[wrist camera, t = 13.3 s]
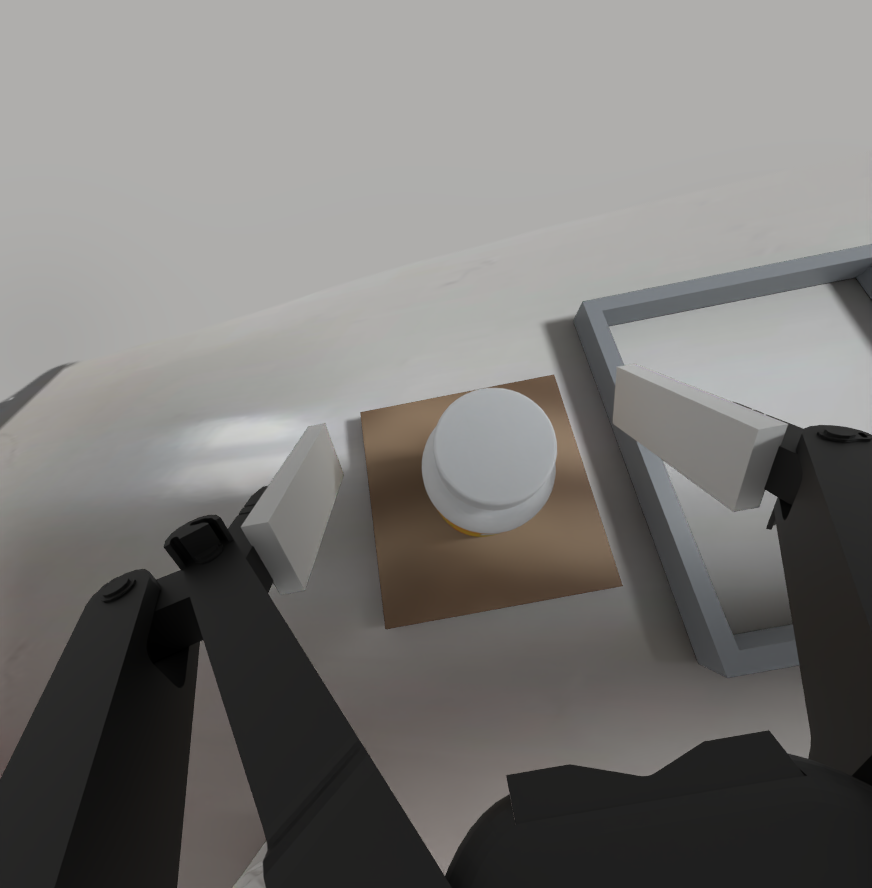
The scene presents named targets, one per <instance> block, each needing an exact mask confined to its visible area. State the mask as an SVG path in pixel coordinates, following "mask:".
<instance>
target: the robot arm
mask: <svg viewBox="0 0 872 888" xmlns="http://www.w3.org/2000/svg"><path fill="white" fill-rule="evenodd" d="M613 424H614V425H615V426H617V427H618V428H620V429H621V430H622V431H624V432H625V433H626V434H628V435H629V436H630V437H632V438H633V439H635V440H636V441H637V442H639V443H640V444H641V445H643V446H644V447H646V448H647V449H648V450H650V451H651V452H652V453H654V454H655V455H656V456H658V457H659V458H661V459H662V460H663V461H665V462H666V463H667V464H669V465H670V466H671V467H673V468H674V469H676V470H677V471H678V472H680V473H681V474H682V475H684V476H685V477H687V478H688V479H689V480H691V481H692V482H693V483H695V484H696V485H697V486H699V487H700V488H702V489H703V490H704V491H706V492H707V493H708V494H710V495H711V496H712V497H714V498H715V499H717V500H718V501H719V502H721V503H722V504H723V505H725V506H726V507H728V508H729V509H730V510H732V511H733V512H736V511H741V510H746V509H752V508H757V507H759V506H760V503H761V501H762V498H763V495H764V492H765V490H767V491H769V492H770V493H772V494H773V495H775V496H777V497H778V498H777V501H776V503H775V506H774V509H773V511H772V514H771V517H770V519H769V522H768V525H767V528H766V529H770V530H772V527H773V525H777V531H778V538H779V544H780V550H781V556H782V562H783V568H784V574H785V580H786V586H787V592H788V598H789V604H790V610H791V617H792V623H793V629H794V635H795V641H796V647H797V653H798V659H799V665H800V671H801V677H802V683H803V689H804V696H805V702H806V708H807V714H808V720H809V726H810V734H811V748H810V753H809V758H808V759H806V758H802V757H799V756H795V755H791V754H787V753H786V751H785V750H784V749H783V748H782V746H781V745H780V744H779V742H778V741H777V740H776V739H775V737H774V736H773V735H772V734H771V732H770V731H763V732H757V733H751V734H746V735H740V736H734V737H728V738H722V739H716V740H710V741H705V742H703V743H701V744H699V745H698V746H696V747H695V748H693V749H692V750H690V751H689V752H687V753H685V754H684V755H682V756H681V757H679V758H678V759H676V760H675V761H673V762H672V763H670V764H668V765H667V766H665V767H664V768H662V769H661V770H659V771H658V772H656V773H654V774H652V775H650V776H636V775H630V774H624V773H618V772H612V771H606V770H600V769H594V768H588V767H582V766H576V765H564V766H558V767H552V768H546V769H540V770H534V771H529V772H523V773H517V774H511V775H506V776H507V781H508V787H509V792H510V794H509V795H507V796H506V797H504V798H502V799H501V800H499V801H498V802H496V803H495V804H494V805H493V806H491V807H490V808H489V809H488V810H487V811H486V812H485V813H483V814H482V816H481V817H480V818H479V819H478V820H477V821H476V823H475V824H474V825H473V826H472V827H471V829H470V830H469V832H468V833H467V835H466V836H465V838H464V839H463V841H462V843H461V844H460V846H459V847H458V849H457V851H456V853H455V855H454V858H453V860H452V862H451V864H450V866H449V868H448V870H447V873H446V875H445V876H444V874H443V873H442V871H441V869H440V868H439V866H438V865H437V863H436V861H435V860H434V858H433V857H432V855H431V853H430V852H429V850H428V849H427V847H426V845H425V844H424V842H423V841H422V839H421V837H420V836H419V834H418V833H417V831H416V829H415V828H414V826H413V825H412V823H411V821H410V820H409V818H408V817H407V815H406V813H405V812H404V810H403V809H402V807H401V805H400V804H399V802H398V801H397V799H396V797H395V796H394V794H393V793H392V791H391V789H390V788H389V786H388V785H387V783H386V781H385V780H384V778H383V777H382V775H381V773H380V772H379V770H378V769H377V767H376V766H375V764H374V762H373V761H372V759H371V758H370V756H369V754H368V753H367V751H366V750H365V748H364V746H363V745H362V743H361V742H360V740H359V739H358V737H357V735H356V734H355V732H354V731H353V729H352V727H351V726H350V724H349V723H348V721H347V719H346V718H345V716H344V715H343V713H342V711H341V710H340V708H339V707H338V705H337V703H336V702H335V700H334V699H333V697H332V695H331V694H330V692H329V691H328V689H327V687H326V686H325V684H324V683H323V681H322V679H321V678H320V676H319V675H318V673H317V671H316V670H315V668H314V667H313V665H312V663H311V662H310V660H309V659H308V657H307V655H306V654H305V652H304V651H303V649H302V647H301V646H300V644H299V643H298V641H297V639H296V638H295V636H294V635H293V633H292V631H291V630H290V628H289V627H288V625H287V623H286V622H285V620H284V619H283V617H282V615H281V614H280V612H279V611H278V609H277V607H276V606H275V604H274V603H273V601H272V599H271V598H270V596H269V595H268V592H269V590H270V588H271V585H272V583H274V585H275V586H276V588H277V590H278V591H279V593H280V595H284V594H289V593H295V592H300V591H305V589H306V586H307V583H308V580H309V577H310V574H311V571H312V568H313V565H314V562H315V559H316V556H317V553H318V550H319V547H320V544H321V541H322V538H323V535H324V532H325V529H326V526H327V523H328V520H329V517H330V514H331V511H332V508H333V505H334V502H335V499H336V496H337V493H338V490H339V487H340V484H341V481H342V478H343V475H344V474H343V471H342V468H341V465H340V463H339V460H338V457H337V455H336V452H335V449H334V446H333V444H332V441H331V438H330V435H329V433H328V430H327V427H326V425H325V423H324V424H319V425H314V426H309V427H308V428H307V429H306V431H305V432H304V434H303V435H302V437H301V438H300V440H299V441H298V443H297V444H296V446H295V447H294V449H293V450H292V452H291V453H290V454H289V456H288V457H287V459H286V460H285V462H284V463H283V465H282V466H281V468H280V469H279V471H278V472H277V474H276V475H275V477H274V478H273V480H272V481H271V483H270V484H269V486H265V487H262V488H261V489H260V490H258V491H257V492H256V493H255V494H254V495H252V496H251V498H250V499H249V500H248V502H247V503H246V505H245V508H243V509H242V510H241V511H240V513H239V516H237V517H236V518H235V520H234V521H233V523H232V524H231V525H230V527H229V528H228V529H227V527H226V526H225V524H224V522H223V521H222V519H221V518H220V517H219V516H217V515H207V516H203V517H199V518H197V519H195V520H192V521H190V522H188V523H186V524H185V525H183V526H181V527H180V528H178V529H177V530H176V531H174V532H173V533H172V534H171V535H170V536H169V537H168V538H167V540H166V541H165V544H164V548H165V549H166V551H167V552H168V553H169V555H170V556H171V557H172V559H173V560H174V561H175V563H176V564H177V565H178V566H179V568H180V569H181V570H180V571H177V572H175V573H172V574H170V575H167V576H165V577H162V578H160V579H157V580H156V579H155V578H154V577H153V576H152V574H151V573H150V572H149V571H147V570H145V569H141V570H135V571H132V572H129V573H126V574H124V575H122V576H120V577H117V578H115V579H113V580H111V581H110V583H107V584H105V585H104V586H103V587H102V588H101V589H100V590H99V591H98V592H97V593H96V594H94V595H93V596H92V598H91V599H90V600H89V602H88V603H87V604H86V606H85V608H84V611H83V613H82V615H81V617H80V619H79V621H78V623H77V625H76V627H75V629H74V631H73V633H72V635H71V637H70V639H69V641H68V643H67V645H66V647H65V649H64V651H63V653H62V655H61V657H60V659H59V661H58V663H57V665H56V667H55V670H54V672H53V674H52V676H51V678H50V680H49V682H48V684H47V686H46V688H45V690H44V692H43V694H42V696H41V698H40V700H39V702H38V704H37V706H36V708H35V710H34V712H33V714H32V716H31V718H30V720H29V722H28V724H27V726H26V728H25V731H24V733H23V735H22V737H21V739H20V741H19V743H18V745H17V747H16V749H15V751H14V753H13V755H12V757H11V759H10V761H9V763H8V765H7V767H6V769H5V771H4V773H3V775H2V777H1V779H0V888H177V882H178V871H179V861H180V850H181V839H182V828H183V818H184V807H185V796H186V785H187V774H188V764H189V753H190V742H191V731H192V721H193V710H194V699H195V688H196V678H197V667H198V656H199V645H200V641H202V640H204V643H205V646H206V650H207V653H208V656H209V659H210V662H211V665H212V668H213V672H214V675H215V678H216V681H217V684H218V687H219V691H220V694H221V697H222V700H223V703H224V706H225V709H226V713H227V716H228V719H229V722H230V725H231V728H232V732H233V735H234V738H235V741H236V744H237V747H238V750H239V754H240V757H241V760H242V763H243V766H244V769H245V773H246V776H247V779H248V782H249V785H250V788H251V791H252V795H253V798H254V801H255V804H256V807H257V810H258V814H259V817H260V820H261V823H262V826H263V829H264V833H265V837H266V841H267V853H266V855H265V857H264V860H263V877H264V882H265V886H266V888H872V435H871V434H869V433H866V432H863V431H860V430H856V429H852V428H848V427H841V426H833V425H818V426H810V427H807V428H805V429H802V428H800V427H797V426H795V425H792V424H790V423H787V422H785V421H782V420H779V419H777V418H774V417H772V416H769V415H764V413H762V412H759V411H756V410H752V409H751V408H749V407H746V406H744V405H741V404H738V403H735V402H731V401H728V400H726V399H723V398H721V397H718V396H716V395H713V394H711V393H708V392H706V391H703V390H700V389H698V388H695V387H693V386H690V385H688V384H685V383H683V382H680V381H678V380H675V379H673V378H670V377H667V376H665V375H662V374H660V373H657V372H655V371H652V370H650V369H647V368H645V367H642V366H639V365H637V364H629V365H624V366H618V367H617V372H616V385H615V398H614V411H613ZM510 797H511V799H510ZM511 803H512V805H511ZM512 808H513V810H512ZM513 813H514V815H513ZM514 818H515V820H514Z"/></svg>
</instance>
